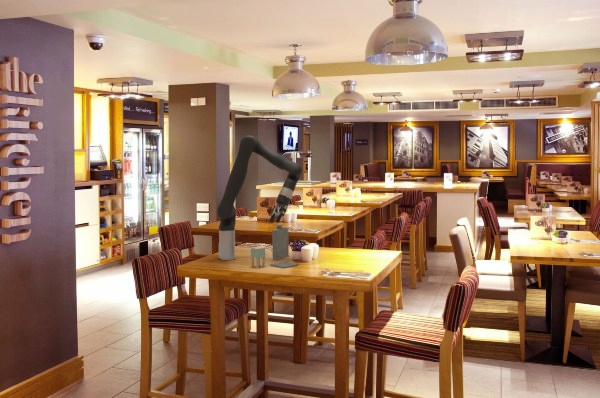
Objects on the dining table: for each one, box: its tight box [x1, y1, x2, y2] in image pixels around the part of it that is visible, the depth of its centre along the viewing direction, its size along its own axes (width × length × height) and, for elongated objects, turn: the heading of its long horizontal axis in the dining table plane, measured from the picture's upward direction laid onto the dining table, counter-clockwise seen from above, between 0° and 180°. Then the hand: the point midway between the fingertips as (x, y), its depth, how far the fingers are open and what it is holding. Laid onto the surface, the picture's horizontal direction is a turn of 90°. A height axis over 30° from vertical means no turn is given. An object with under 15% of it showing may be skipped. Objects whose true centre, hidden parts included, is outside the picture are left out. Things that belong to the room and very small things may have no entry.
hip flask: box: [271, 224, 290, 261], centre depth 368 cm, size 16×4×20 cm, turn 152°
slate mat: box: [269, 261, 299, 269], centre depth 344 cm, size 11×11×1 cm
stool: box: [250, 246, 266, 269], centre depth 342 cm, size 6×6×11 cm
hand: (273, 222), depth 349 cm, fingers open, 8 cm apart
